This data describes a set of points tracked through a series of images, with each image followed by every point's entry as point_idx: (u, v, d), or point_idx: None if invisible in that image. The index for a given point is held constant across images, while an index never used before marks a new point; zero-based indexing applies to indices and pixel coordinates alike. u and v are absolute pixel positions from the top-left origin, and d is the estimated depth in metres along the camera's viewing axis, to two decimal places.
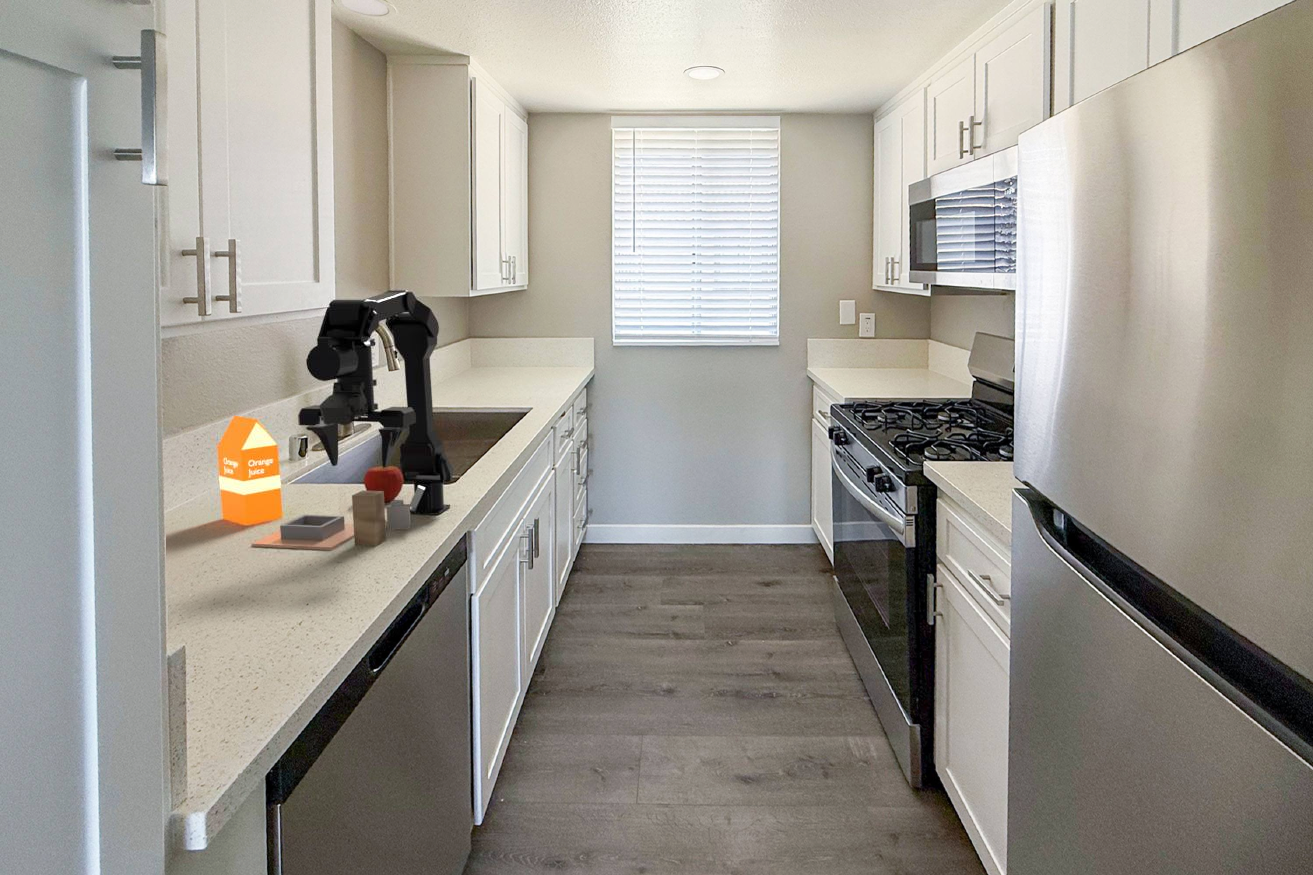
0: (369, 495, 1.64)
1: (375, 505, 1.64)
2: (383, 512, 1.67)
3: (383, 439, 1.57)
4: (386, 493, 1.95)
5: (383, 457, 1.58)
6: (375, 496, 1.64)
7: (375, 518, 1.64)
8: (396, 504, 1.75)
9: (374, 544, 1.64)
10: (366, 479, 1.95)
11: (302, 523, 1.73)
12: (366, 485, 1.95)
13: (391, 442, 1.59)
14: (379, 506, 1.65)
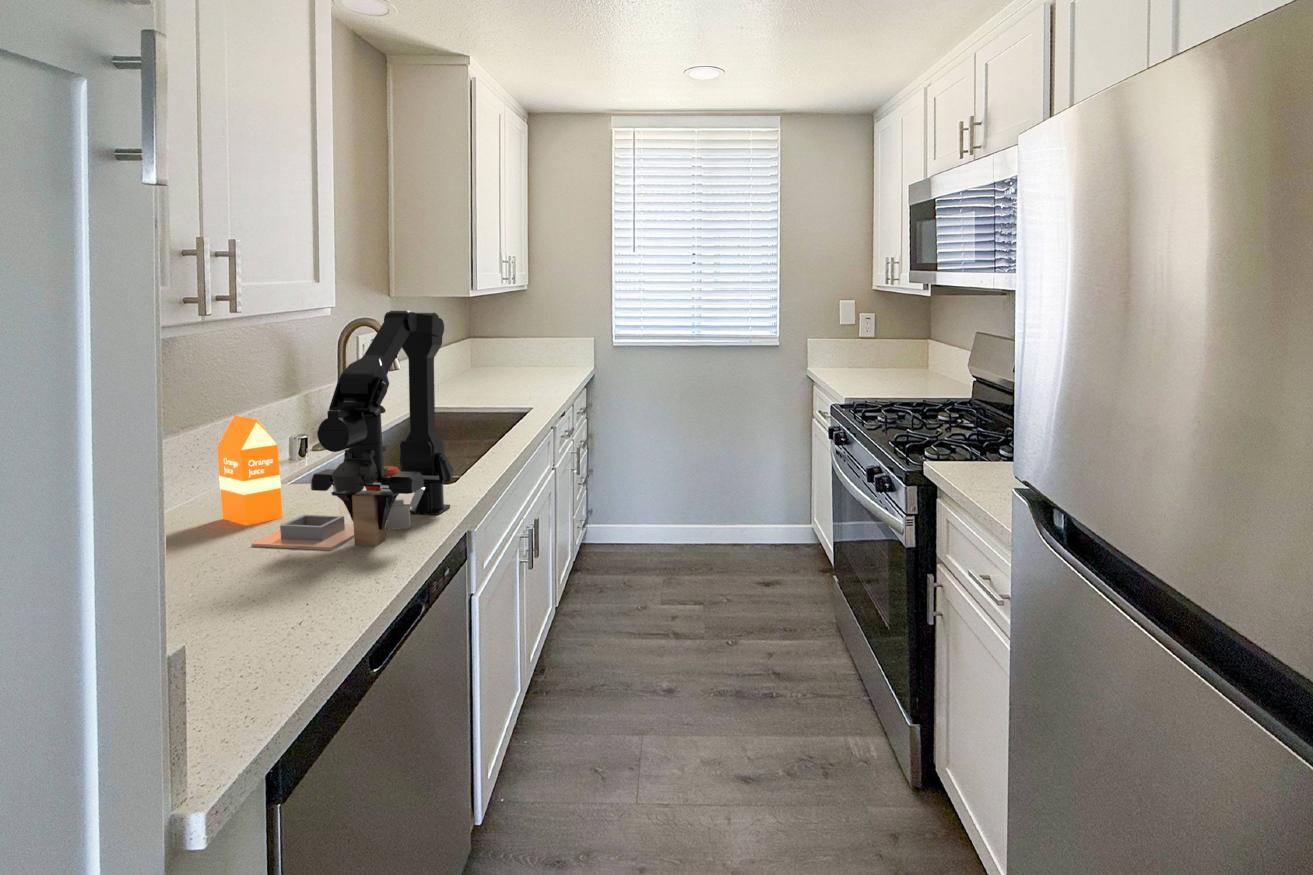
0: (369, 495, 1.64)
1: (375, 505, 1.64)
2: None
3: (379, 503, 1.64)
4: None
5: (379, 520, 1.65)
6: None
7: (375, 518, 1.64)
8: (396, 504, 1.75)
9: (374, 544, 1.64)
10: None
11: (302, 523, 1.73)
12: None
13: (387, 505, 1.65)
14: None
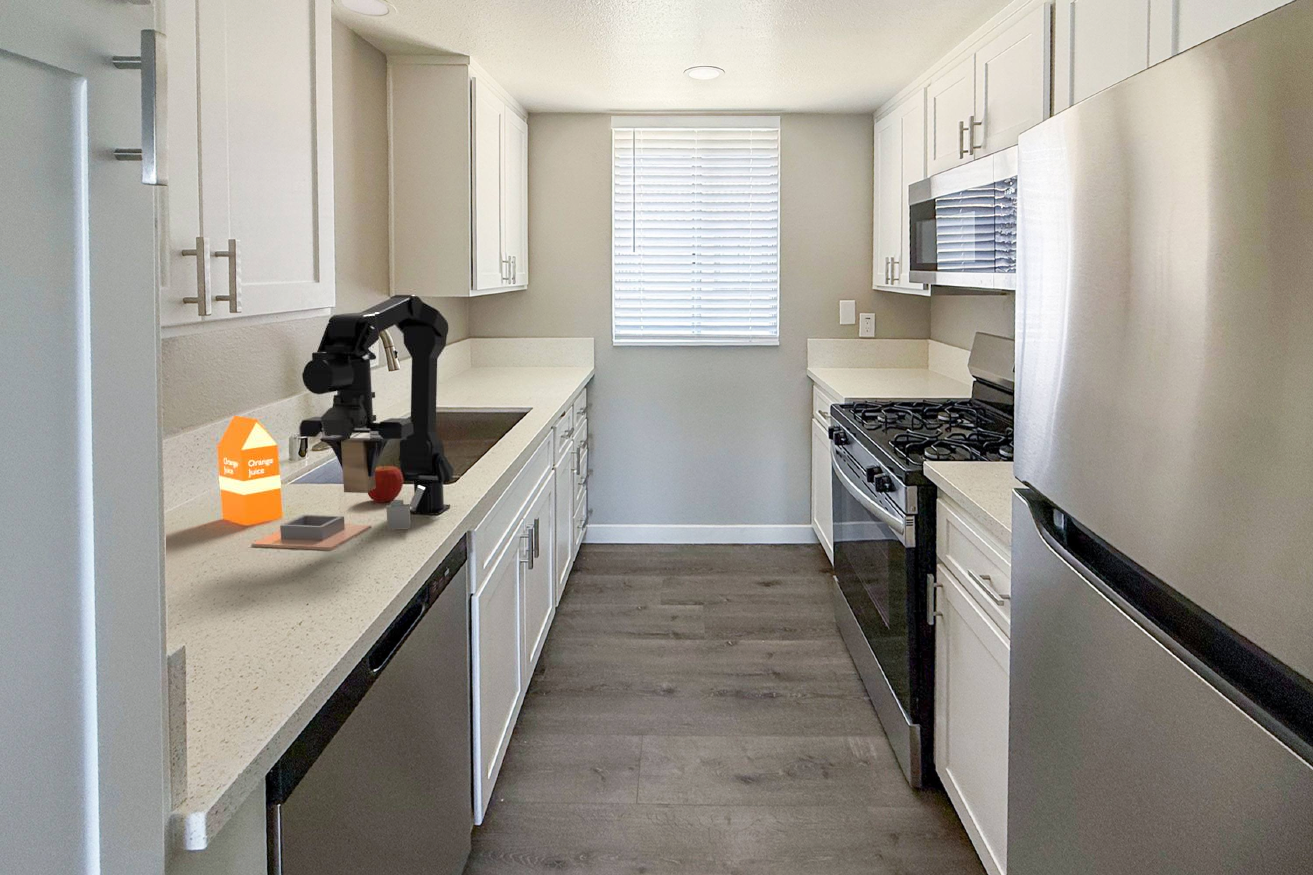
0: (358, 441, 1.62)
1: (364, 452, 1.63)
2: None
3: (368, 449, 1.63)
4: (386, 493, 1.95)
5: (369, 467, 1.64)
6: (364, 442, 1.63)
7: (365, 464, 1.63)
8: (396, 504, 1.75)
9: (364, 491, 1.63)
10: None
11: (302, 523, 1.73)
12: None
13: (376, 452, 1.64)
14: None
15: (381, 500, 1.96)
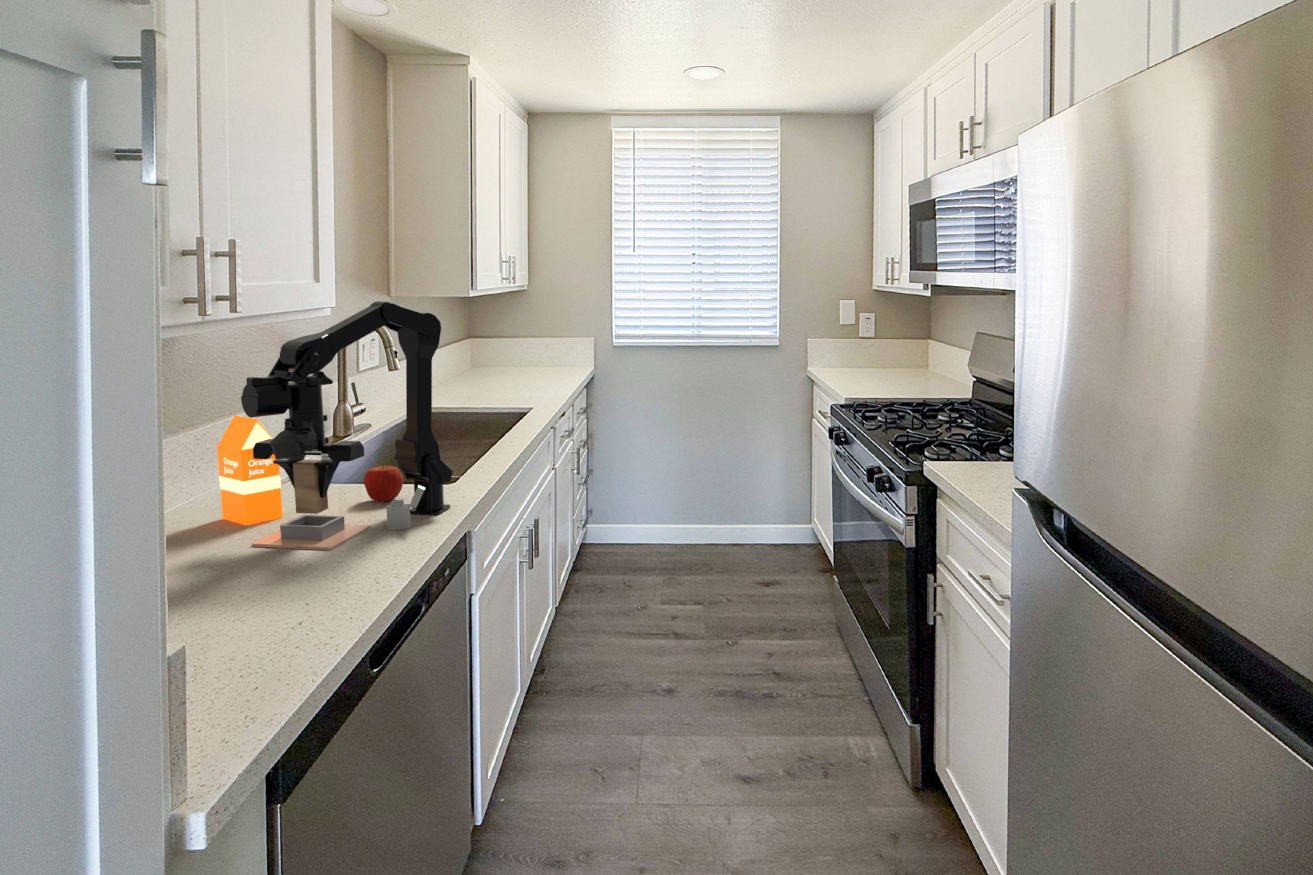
0: (310, 463, 1.67)
1: (315, 473, 1.67)
2: None
3: (320, 471, 1.67)
4: (386, 493, 1.95)
5: (320, 488, 1.68)
6: None
7: (316, 486, 1.67)
8: (396, 504, 1.75)
9: (315, 511, 1.67)
10: (366, 479, 1.95)
11: (302, 523, 1.73)
12: (366, 485, 1.95)
13: (328, 474, 1.68)
14: None
15: (381, 500, 1.96)
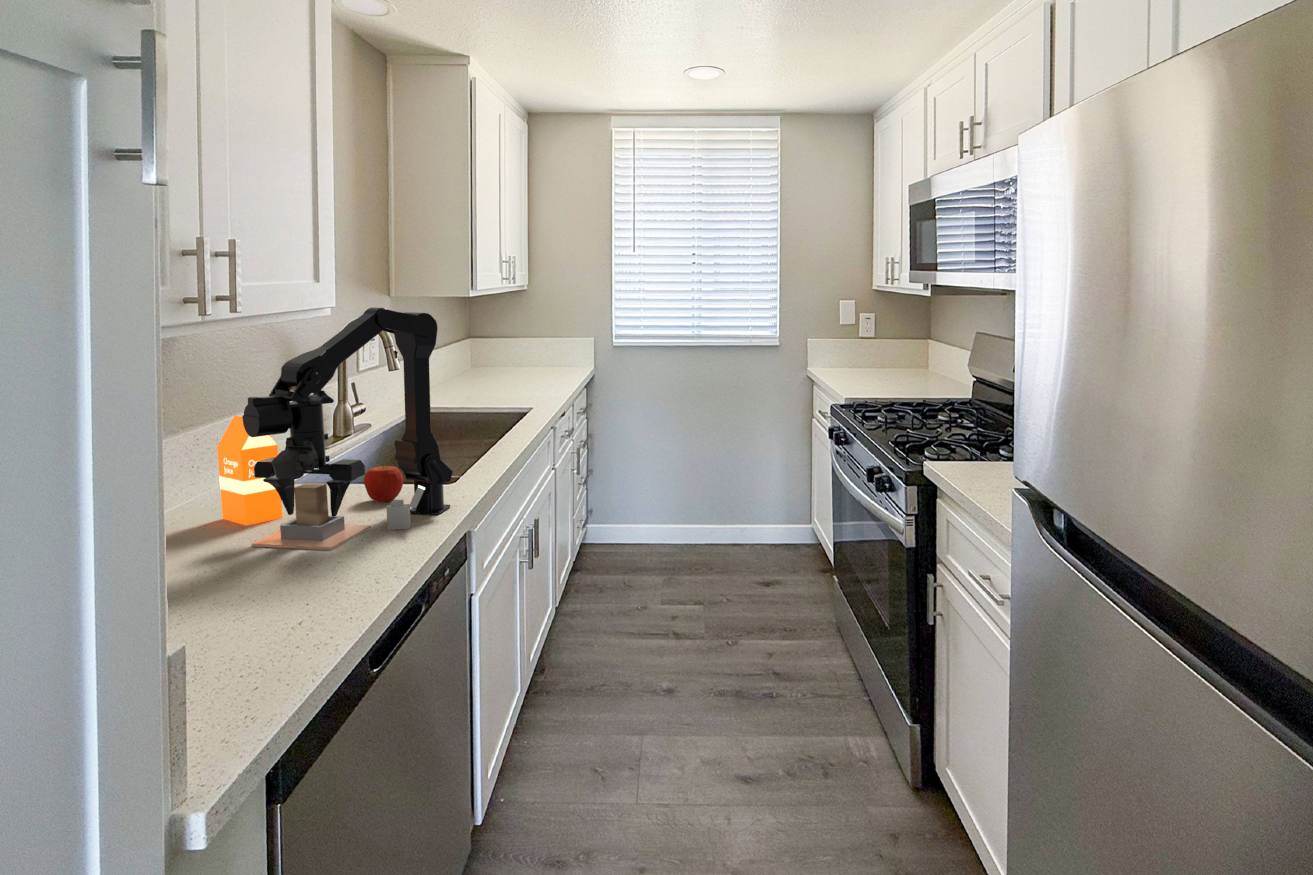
0: (311, 487, 1.67)
1: (317, 497, 1.67)
2: (326, 504, 1.71)
3: (331, 490, 1.67)
4: (386, 493, 1.95)
5: (332, 507, 1.68)
6: (317, 488, 1.67)
7: (317, 510, 1.68)
8: (396, 504, 1.75)
9: None
10: (366, 479, 1.95)
11: None
12: (366, 485, 1.95)
13: (339, 493, 1.69)
14: (321, 498, 1.69)
15: (381, 500, 1.96)
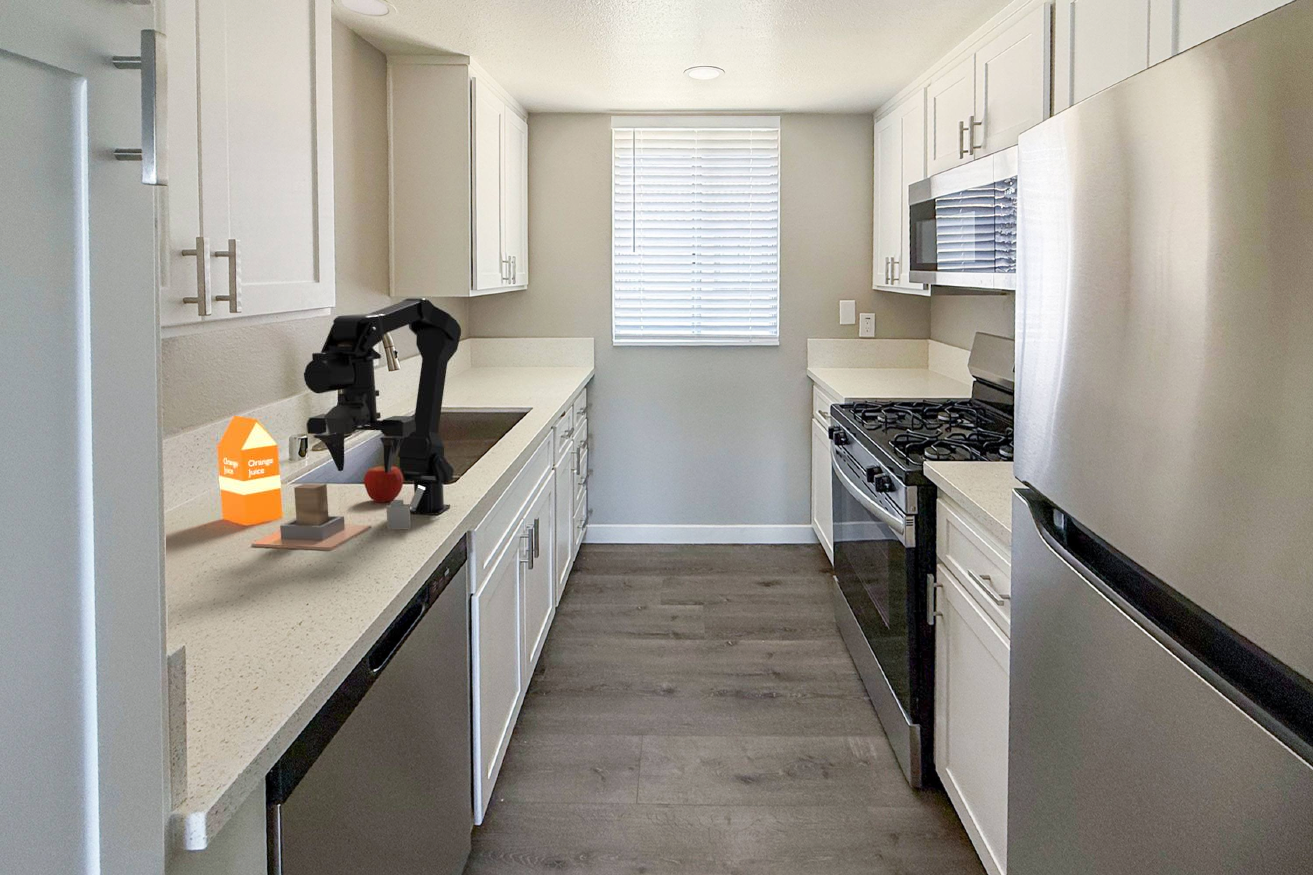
0: (311, 487, 1.67)
1: (317, 497, 1.67)
2: (326, 504, 1.71)
3: (385, 446, 1.67)
4: (386, 493, 1.95)
5: (385, 463, 1.68)
6: (317, 488, 1.67)
7: (317, 510, 1.68)
8: (396, 504, 1.75)
9: None
10: (366, 479, 1.95)
11: None
12: (366, 485, 1.95)
13: (392, 449, 1.69)
14: (321, 498, 1.69)
15: (381, 500, 1.96)
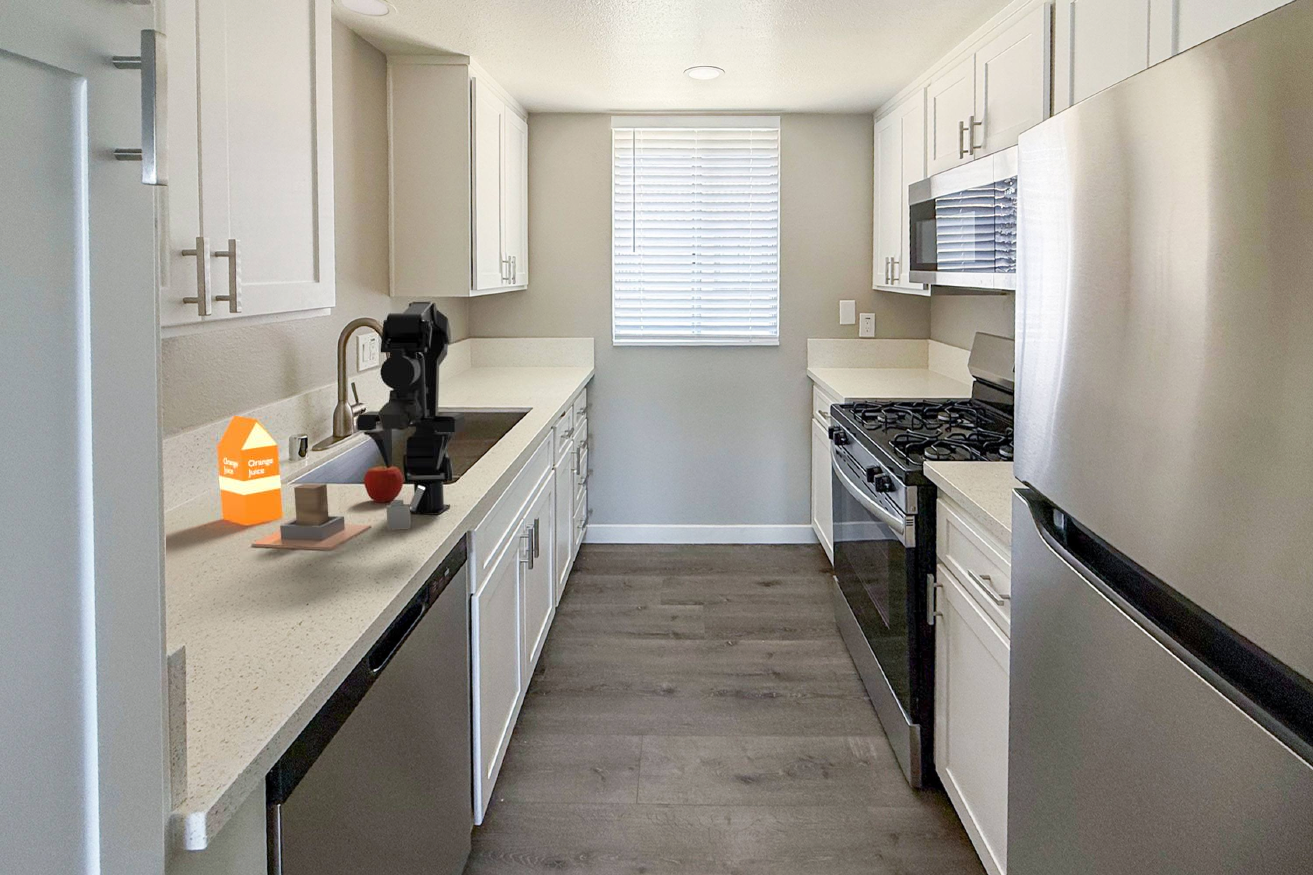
0: (311, 487, 1.67)
1: (317, 497, 1.67)
2: (326, 504, 1.71)
3: (435, 443, 1.69)
4: (386, 493, 1.95)
5: (435, 460, 1.70)
6: (317, 488, 1.67)
7: (317, 510, 1.68)
8: (396, 504, 1.75)
9: None
10: (366, 479, 1.95)
11: None
12: (366, 485, 1.95)
13: (442, 446, 1.70)
14: (321, 498, 1.69)
15: (381, 500, 1.96)
